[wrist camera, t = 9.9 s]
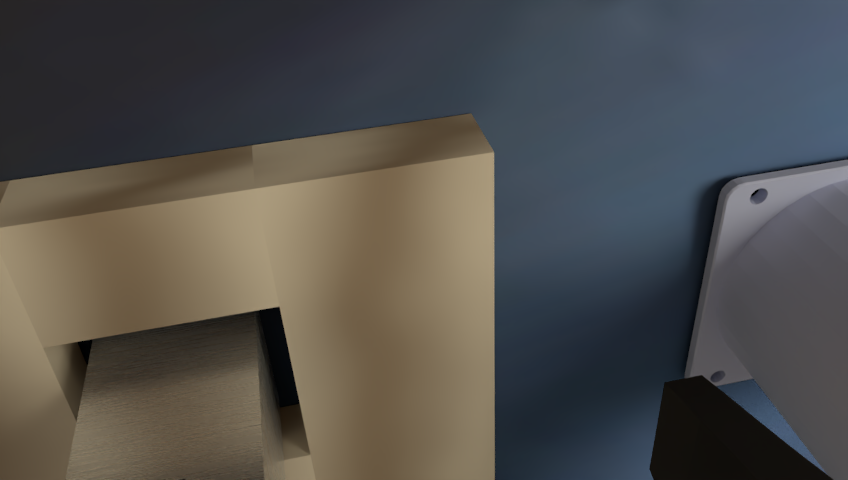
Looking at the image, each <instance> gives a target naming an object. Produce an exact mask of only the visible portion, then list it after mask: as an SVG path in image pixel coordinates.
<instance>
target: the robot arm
mask: <svg viewBox="0 0 848 480" xmlns="http://www.w3.org/2000/svg"><path fill="white" fill-rule="evenodd" d="M758 189H759V191H758V192H757V193H756V194H755V195H754V196H751V195H752V193H753V192H754V191H756V190H758ZM749 379H754V380H755V381H756V383H757V384H758V385H759V386H760V388H761V389H762V390H763V392H764V393H765V394H766V396H767V397H768V398H769V399H770V401H771V402H772V403H773V405H774V406H775V407H776V408H777V410H778V411H779V412H780V414H781V415H782V416H783V418H784V419H785V420H786V421H787V423H788V424H789V425H790V427H791V428H792V429H793V430H794V432H795V433H796V434H797V436H798V437H799V438H800V440H801V441H802V442H803V443H804V445H805V446H806V447H807V449H808V450H809V451H810V452H811V454H812V455H813V456H814V458H815V459H816V460H817V462H818V463H819V464H820V465H821V467H822V468H823V469H824V471H825V472H826V473H827V474H825V473H824V472H823V471H822V470H820V469H819V468H818V467H816V466H815V465H814V464H812V463H811V462H810V461H808V460H807V459H806V458H804V457H803V456H802V455H801V454H799V453H798V452H797V451H795V450H794V449H793V448H792V447H790V446H789V445H788V444H787V443H785V442H784V441H783V440H782V439H780V438H779V437H778V436H777V435H775V434H774V433H773V432H772V431H770V430H769V429H768V428H767V427H765V426H764V425H763V424H762V423H760V422H759V421H758V420H757V419H756V418H754V417H753V416H752V415H751V414H749V413H748V412H747V411H746V410H744V409H743V408H742V407H741V406H740V405H738V404H737V403H736V402H735V401H733V400H732V399H731V398H730V397H729V396H727V395H726V394H725V393H724V392H722V391H721V390H720V389H719V388H717V387H716V386H719V385H724V384H729V383H734V382H739V381H744V380H749ZM650 471H651V474H652V476H653V479H654V480H848V160H842V161H836V162H830V163H824V164H818V165H812V166H805V167H799V168H793V169H787V170H781V171H775V172H769V173H763V174H757V175H751V176H745V177H739V178H736V179H733V180H731V181H730V182H728V183H727V184H726V185H725V186H724V187H723V188H722V190H721V192H720V195H719V199H718V204H717V209H716V214H715V219H714V225H713V230H712V235H711V240H710V245H709V251H708V256H707V261H706V266H705V271H704V277H703V282H702V287H701V292H700V297H699V302H698V308H697V313H696V318H695V323H694V328H693V334H692V339H691V344H690V349H689V354H688V359H687V365H686V370H685V378H684V379H679V380H674V381H669V382H665V383H664V389H663V395H662V401H661V406H660V412H659V418H658V424H657V429H656V435H655V441H654V447H653V452H652V458H651V464H650ZM181 480H185V479H181Z"/></svg>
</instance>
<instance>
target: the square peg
mask: <svg viewBox="0 0 848 480" xmlns="http://www.w3.org/2000/svg"><path fill="white" fill-rule="evenodd" d="M181 479H185V480H286V478H285V466H284V454H283V442H282V430H281V418H280V406H279V394H278V390H277V386H276V381H275V377H274V373H273V369H272V364H271V360H270V356H269V352H268V347H267V343H266V339H265V335H264V330H263V326H262V322H261V318H260V313H259V310H257V311H251V312H246V313H240V314H234V315H228V316H223V317H217V318H211V319H205V320H200V321H194V322H188V323H182V324H177V325H171V326H165V327H159V328H154V329H148V330H142V331H136V332H131V333H125V334H119V335H113V336H108V337H102V338H96V339H93V341H92V346H91V351H90V356H89V361H88V366H87V371H86V377H85V382H84V387H83V392H82V397H81V402H80V407H79V412H78V417H77V423H76V428H75V433H74V438H73V443H72V448H71V453H70V458H69V464H68V469H67V474H66V479H65V480H181Z"/></svg>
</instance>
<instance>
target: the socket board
mask: <svg viewBox="0 0 848 480" xmlns="http://www.w3.org/2000/svg"><path fill="white" fill-rule="evenodd" d="M274 307H280V311H281V316H282V321H283V326H284V331H285V335H286V340H287V345H288V350H289V354H290V359H291V364H292V369H293V374H294V378H295V383H296V388H297V393H298V397H299V402H300V404H296V405H290V406H285V407H280V418H281V430H282V442H283V454H284V466H285V478H286V480H495V362H494V151H493V150H492V148H491V146H490V145H489V143H488V141H487V140H486V138H485V136H484V134H483V133H482V131H481V129H480V128H479V126H478V124H477V123H476V121H475V119H474V117H473V116H472V114H464V115H457V116H450V117H443V118H437V119H430V120H423V121H416V122H409V123H402V124H395V125H388V126H382V127H375V128H368V129H361V130H354V131H347V132H340V133H333V134H327V135H320V136H313V137H306V138H299V139H292V140H285V141H279V142H272V143H265V144H258V145H251V146H244V147H237V148H230V149H224V150H217V151H210V152H203V153H196V154H189V155H182V156H175V157H169V158H162V159H155V160H148V161H141V162H134V163H127V164H120V165H114V166H107V167H100V168H93V169H86V170H79V171H72V172H65V173H59V174H52V175H45V176H38V177H31V178H24V179H17V180H11V181H4V182H0V480H65V479H66V474H67V469H68V464H69V458H70V453H71V448H72V443H73V438H74V433H75V428H76V423H77V417H78V412H79V407H80V402H81V397H82V392H83V387H84V382H85V377H86V371H87V364H86V361H85V359H84V357H83V354H82V352H81V349H80V347H79V345H78V342H79V341H85V340H91V339H96V338H102V337H108V336H113V335H119V334H125V333H131V332H136V331H142V330H148V329H154V328H159V327H165V326H171V325H177V324H182V323H188V322H194V321H200V320H205V319H211V318H217V317H223V316H228V315H234V314H240V313H246V312H251V311H257V310H263V309H268V308H274Z"/></svg>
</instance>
